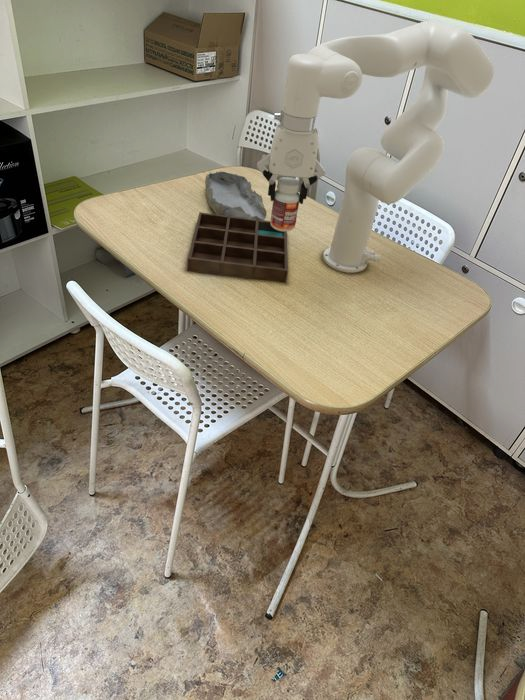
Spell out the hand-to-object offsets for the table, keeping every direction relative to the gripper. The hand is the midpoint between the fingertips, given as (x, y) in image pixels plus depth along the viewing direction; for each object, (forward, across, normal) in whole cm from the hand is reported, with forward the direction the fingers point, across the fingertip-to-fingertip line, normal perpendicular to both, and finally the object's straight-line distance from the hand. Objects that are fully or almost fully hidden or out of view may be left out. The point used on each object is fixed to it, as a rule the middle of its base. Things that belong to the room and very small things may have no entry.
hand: (286, 199), depth 122 cm
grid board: (+22, -10, +11) cm, 27 cm away
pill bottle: (+7, 0, 0) cm, 7 cm away
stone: (+23, -14, +38) cm, 46 cm away
